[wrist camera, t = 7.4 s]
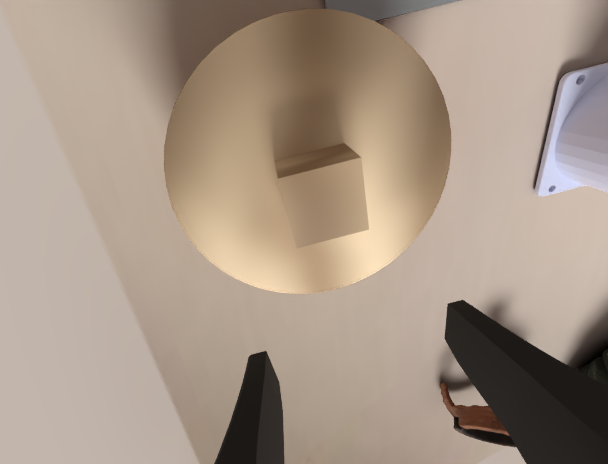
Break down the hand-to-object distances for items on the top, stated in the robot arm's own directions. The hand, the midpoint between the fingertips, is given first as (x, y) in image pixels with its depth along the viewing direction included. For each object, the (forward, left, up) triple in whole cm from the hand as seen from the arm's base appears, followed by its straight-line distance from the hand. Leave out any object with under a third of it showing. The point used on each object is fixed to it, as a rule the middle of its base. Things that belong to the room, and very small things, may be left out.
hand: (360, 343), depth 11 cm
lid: (0, -5, -5) cm, 7 cm away
